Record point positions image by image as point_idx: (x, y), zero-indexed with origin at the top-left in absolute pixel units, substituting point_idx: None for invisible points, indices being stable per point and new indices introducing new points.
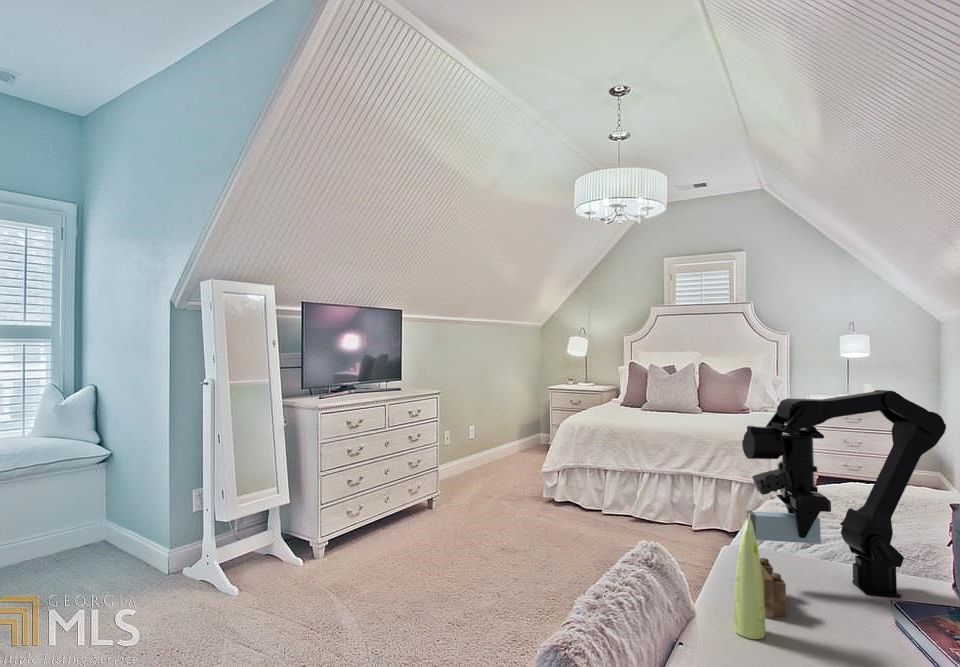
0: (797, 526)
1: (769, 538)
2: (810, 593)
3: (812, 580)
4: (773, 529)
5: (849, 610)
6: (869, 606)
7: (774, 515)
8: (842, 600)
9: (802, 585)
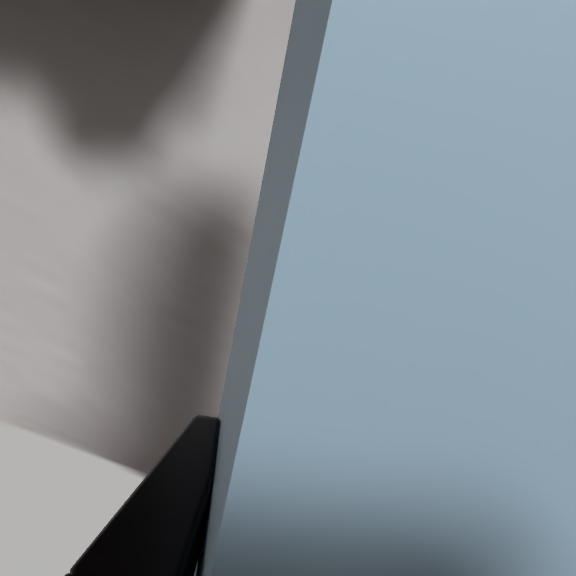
0: (153, 510)
1: (290, 38)
2: (231, 244)
3: None
4: (279, 130)
5: (39, 321)
6: (110, 419)
7: (414, 322)
8: (159, 349)
9: None
